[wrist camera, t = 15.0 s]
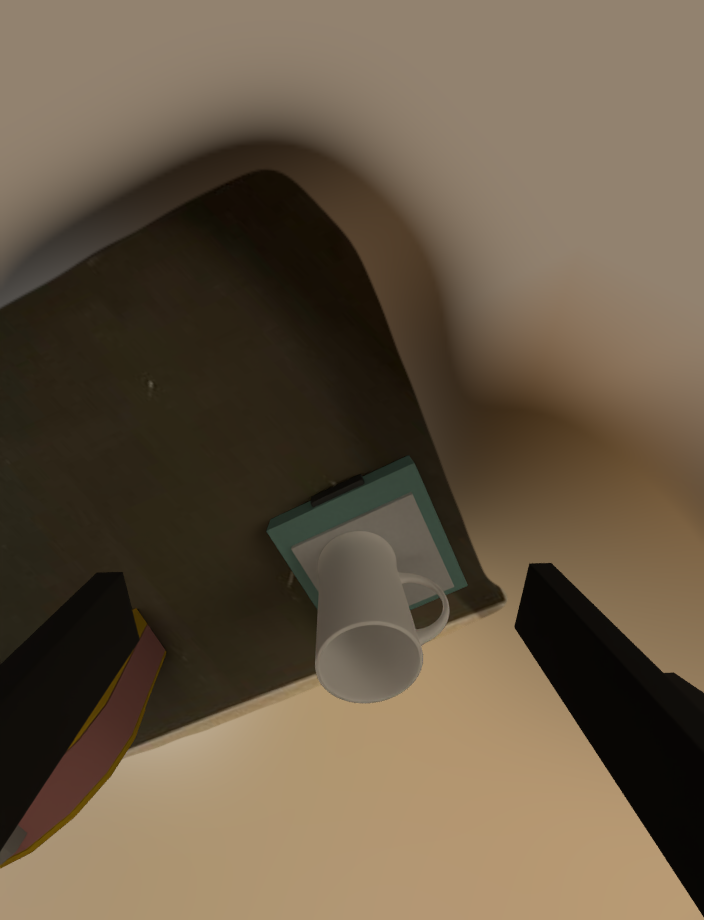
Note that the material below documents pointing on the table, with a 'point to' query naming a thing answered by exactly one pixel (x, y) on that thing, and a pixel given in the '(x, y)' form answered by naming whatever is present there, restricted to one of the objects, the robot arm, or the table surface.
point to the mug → (368, 620)
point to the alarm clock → (92, 748)
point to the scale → (372, 529)
